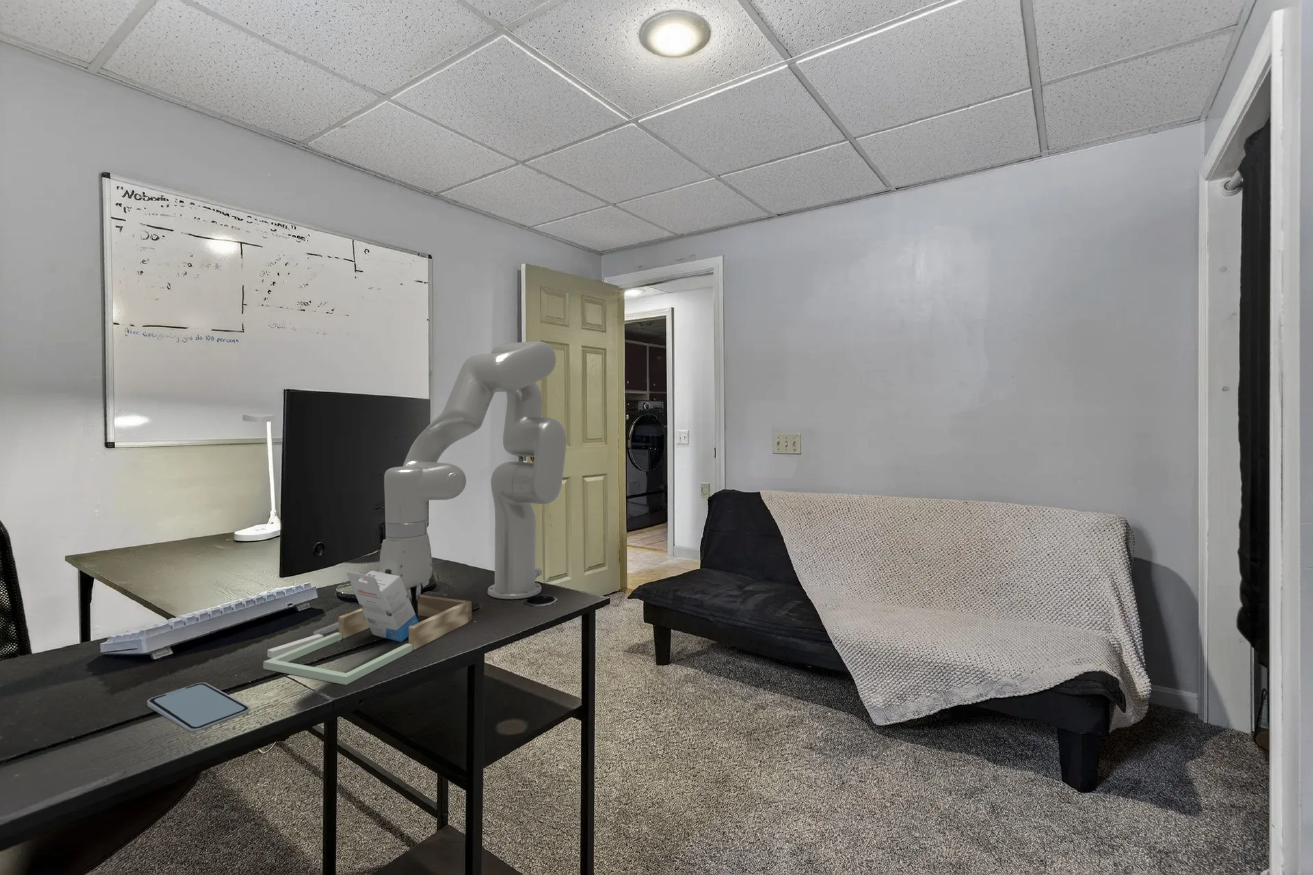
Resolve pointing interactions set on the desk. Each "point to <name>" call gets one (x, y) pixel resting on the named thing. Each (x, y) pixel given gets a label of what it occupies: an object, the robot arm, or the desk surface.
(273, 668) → the frame
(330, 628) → the crook tool
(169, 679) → the desk surface
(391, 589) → the ink box
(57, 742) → the desk surface
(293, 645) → the stick
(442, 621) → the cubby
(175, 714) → the smartphone
